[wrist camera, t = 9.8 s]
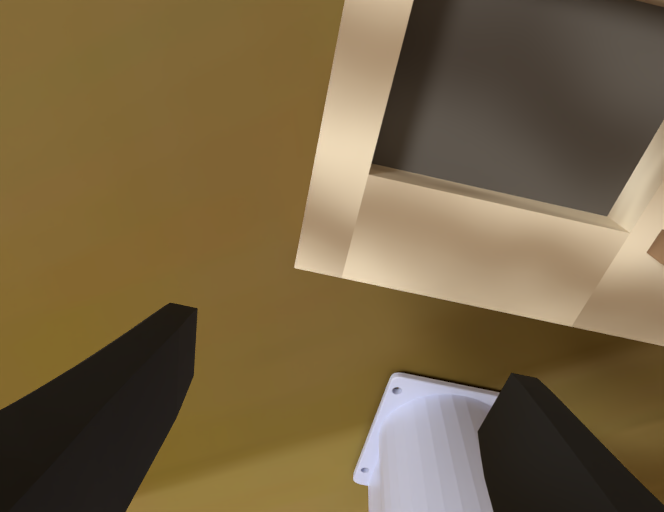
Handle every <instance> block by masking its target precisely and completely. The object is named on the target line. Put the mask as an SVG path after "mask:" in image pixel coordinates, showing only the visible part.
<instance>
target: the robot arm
mask: <svg viewBox="0 0 664 512" xmlns="http://www.w3.org/2000/svg"><path fill="white" fill-rule="evenodd" d="M196 325H197V308H193V307H189V306H184V305H179V304H174V303H169V304H167V305H165V306H164V307H162V308H161V309H159V310H158V311H157V312H155V313H154V314H152V315H151V316H149V317H148V318H146V319H145V320H144V321H142V322H141V323H139V324H138V325H136V326H135V327H134V328H132V329H131V330H129V331H128V332H126V333H125V334H123V335H122V336H120V337H119V338H118V339H116V340H115V341H113V342H112V343H110V344H108V345H107V346H105V347H104V348H102V349H101V350H99V351H98V352H96V353H95V354H93V355H92V356H90V357H89V358H87V359H86V360H84V361H83V362H81V363H79V364H78V365H76V366H75V367H73V368H72V369H70V370H68V371H67V372H65V373H63V374H62V375H60V376H58V377H57V378H55V379H53V380H52V381H50V382H48V383H47V384H45V385H43V386H42V387H40V388H38V389H37V390H35V391H33V392H32V393H30V394H28V395H26V396H25V397H23V398H21V399H19V400H18V401H16V402H14V403H12V404H10V405H9V406H7V407H5V408H3V409H1V410H0V512H126V510H127V508H128V506H129V504H130V503H131V501H132V499H133V497H134V495H135V493H136V492H137V490H138V488H139V486H140V484H141V482H142V481H143V479H144V477H145V475H146V473H147V471H148V470H149V468H150V466H151V464H152V462H153V460H154V459H155V457H156V455H157V453H158V451H159V449H160V448H161V446H162V444H163V442H164V440H165V438H166V436H167V435H168V433H169V431H170V429H171V427H172V425H173V423H174V421H175V420H176V418H177V415H178V413H179V410H180V408H181V406H182V403H183V401H184V398H185V396H186V393H187V391H188V388H189V386H190V383H191V381H192V378H193V376H194V360H195V343H196ZM395 387H399V388H398V389H395ZM353 480H354V481H355V482H356V483H358V484H362V485H367V486H368V497H369V512H664V505H663V504H662V503H661V502H660V501H659V500H658V499H657V498H656V497H655V496H654V495H653V494H652V493H651V492H650V491H649V490H647V489H646V488H645V487H644V486H643V485H642V484H641V483H640V482H639V481H638V480H637V479H636V478H635V477H634V476H633V475H632V474H631V473H630V472H629V471H628V470H627V469H626V468H625V467H624V466H623V465H622V464H621V463H620V462H619V461H618V460H617V458H616V457H615V456H614V455H613V454H612V453H611V452H610V451H609V450H608V449H607V448H606V447H605V446H604V445H603V444H602V443H601V442H600V441H599V440H598V439H597V438H596V437H595V436H594V435H593V434H592V433H591V432H590V431H589V430H588V429H587V428H586V427H585V425H584V424H583V423H582V422H581V421H580V420H579V419H578V418H577V417H576V416H575V415H574V414H573V413H572V412H571V411H570V410H569V409H568V408H567V407H566V406H565V405H564V404H563V403H562V402H561V401H560V400H559V399H558V398H557V397H556V396H555V395H554V394H553V393H552V392H551V391H550V390H549V389H548V388H547V387H546V386H545V385H544V384H543V383H542V382H541V381H540V380H539V379H537V378H534V377H529V376H524V375H519V374H514V373H511V374H510V376H509V378H508V380H507V381H506V383H505V385H504V387H503V388H502V390H501V392H495V391H490V390H485V389H480V388H475V387H470V386H465V385H460V384H455V383H450V382H445V381H441V380H436V379H431V378H426V377H421V376H416V375H411V374H406V373H400V372H398V373H394V374H393V375H391V377H390V379H389V381H388V384H387V387H386V389H385V392H384V394H383V397H382V400H381V402H380V405H379V408H378V410H377V413H376V415H375V418H374V421H373V423H372V426H371V429H370V431H369V434H368V436H367V439H366V442H365V444H364V447H363V449H362V452H361V455H360V457H359V460H358V463H357V465H356V468H355V470H354V473H353Z"/></svg>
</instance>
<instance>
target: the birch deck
mask: <svg viewBox="0 0 664 512" xmlns="http://www.w3.org/2000/svg"><path fill="white" fill-rule="evenodd" d="M662 229H663V230H664V0H345V3H344V8H343V13H342V19H341V24H340V29H339V34H338V40H337V45H336V50H335V56H334V61H333V66H332V71H331V77H330V82H329V87H328V93H327V98H326V103H325V108H324V114H323V119H322V124H321V129H320V135H319V140H318V145H317V151H316V156H315V161H314V166H313V172H312V177H311V182H310V188H309V193H308V198H307V203H306V209H305V214H304V219H303V225H302V230H301V235H300V240H299V246H298V251H297V256H296V261H295V267H294V268H297V269H302V270H307V271H311V272H316V273H321V274H326V275H330V276H335V277H340V278H344V279H349V280H354V281H359V282H363V283H368V284H373V285H377V286H382V287H387V288H392V289H396V290H401V291H406V292H410V293H415V294H420V295H425V296H429V297H434V298H439V299H443V300H448V301H453V302H458V303H462V304H467V305H472V306H476V307H481V308H486V309H491V310H495V311H500V312H505V313H509V314H514V315H519V316H524V317H528V318H533V319H538V320H542V321H547V322H552V323H557V324H561V325H566V326H571V327H575V328H580V329H585V330H590V331H594V332H599V333H604V334H608V335H613V336H618V337H623V338H627V339H632V340H637V341H641V342H646V343H651V344H656V345H660V346H664V266H663V265H662V264H661V263H659V262H658V261H657V260H655V259H654V258H653V257H651V256H650V255H649V254H647V253H646V252H647V251H648V249H649V248H650V246H651V245H652V243H653V242H654V240H655V239H656V237H657V236H658V234H659V233H660V231H661V230H662Z"/></svg>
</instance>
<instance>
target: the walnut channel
mask: <svg viewBox="0 0 664 512" xmlns="http://www.w3.org/2000/svg"><path fill="white" fill-rule="evenodd" d="M646 253H647V254H649V255H650V256H651V257H653V258H654V259H655V260H657V261H658V262H659V263H661V264H662V265H663V266H664V230H663V229H662V230H661V231H660V233H659V234H658V236H657V237H656V239H655V240H654V242H653V243H652V245H651V246H650V248H649V249H648V251H647V252H646Z"/></svg>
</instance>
